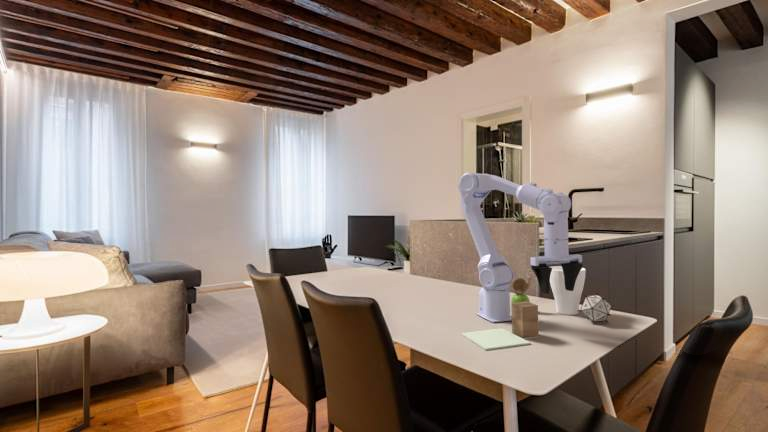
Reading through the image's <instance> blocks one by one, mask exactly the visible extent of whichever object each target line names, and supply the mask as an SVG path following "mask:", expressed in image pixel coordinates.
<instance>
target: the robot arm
mask: <svg viewBox="0 0 768 432" xmlns="http://www.w3.org/2000/svg"><path fill="white" fill-rule="evenodd" d="M537 185H538V184H537V183H536V182H526V183H524V184H522V185H520V184H518V183H515V182H513V181H511V180H507V179H505V178H503V177H501V176H498V175H495V174H489V173H478V172H477V173H476V172H475V173H474V172H470V171H467V172H465V173H463V175H461V177H460V179H459V182H458V184H457V188H458V191H459V193H460V208H461V211H462V213H463V217H464V218H465V221H466V224H467V226H468V229H469V233H470V234H471V237H472V239H473V240H472V241H473V243H474V245H475V248H476V251H477V253H478V256H479V262H478V264H477V269H478V279H479V283H480V284H481V286H482V287H481V289H480V290H479V292H478V309H479V310H478V311H479V312H476V315H477V316H479V317H481V318H483V319H485V320H487V321H489V322H491V323H500V322H508V321H511V322H512V315H511V294H510V291H511V290H510V289H511V288H510V287H511V284H512V282H513V280H514V279H515V273H514V270H513V268H512V267H511V266H510V265H509V264H508V262H507V260H506V258H505V257H503V256H502V255H501V254H500V253H499V252H498V249H497V246H496V245H495V241H494V239H493V237H492V234H491V231H490V229H489V227H488V224H487V221H486V218H485V215H484V214H483V211H482V207H481V204H482V202H484V200H485V199H486V197H487V196H488V195H489V194H490V192H492V191H495V190H496V191H498V192H499V191H500V192H502V193H506V194H509V195H512V196H514V197H516V199H517V201H518V202H519V203H520V204H523V205H525V206H528V207H530V208H533V209H536V210H538V211H540V213H542V215H543V241H544V243H543V245H544V246H543V247H544V255H540V256H539V255H538V256H533V257H530V258H529V259H530V266H531V267H530V268H531V270H532V272H533V274H535V276H536V280H537V282H538V285H539V288H540V292H541V293H543V294H546V295H547V294H549V293H550V275H551V271H552V268H551V267H552V266H548V265H558V264H560V266H562V269H563V273H564V281H565V289H566V290H569V291H573V290H574V286H575V282H576V279H577V276H578V274H579V272H580V270H581V269H582V268H584V267H583V265H584V264H583V263H582V262H583V255H582V254H578V253H577V254H575V253H574V254H570V253H569V220H568V218H569V217H568V214H569V213H568V212H569V211H570V210H571V207H572V200H571V199H570V197H569V196H568V195H567V194H564V193H563V192H555V193H554V190H553V189H551V188H547V189H546V188H543V187H540V186H537Z"/></svg>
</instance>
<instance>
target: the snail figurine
mask: <svg viewBox="0 0 768 432" xmlns="http://www.w3.org/2000/svg"><path fill="white" fill-rule="evenodd" d="M532 274H533V273H532V272H529V275H528V276H527V277H526V278H527V281H526V280H525V279H524V278H523V277H516V278H514V279H513V281H512V282H511V287H512V289H513V290H512V292H513V293H514V295H513V296H512V297H511V303H516V302H526V301H527V302H530V303H531V301H530V298H529V297H528V296H527V295H526V293H527V292H528V291H529V290H530V289H531V288H530V287H531V283H532V279H533V277H532Z"/></svg>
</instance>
